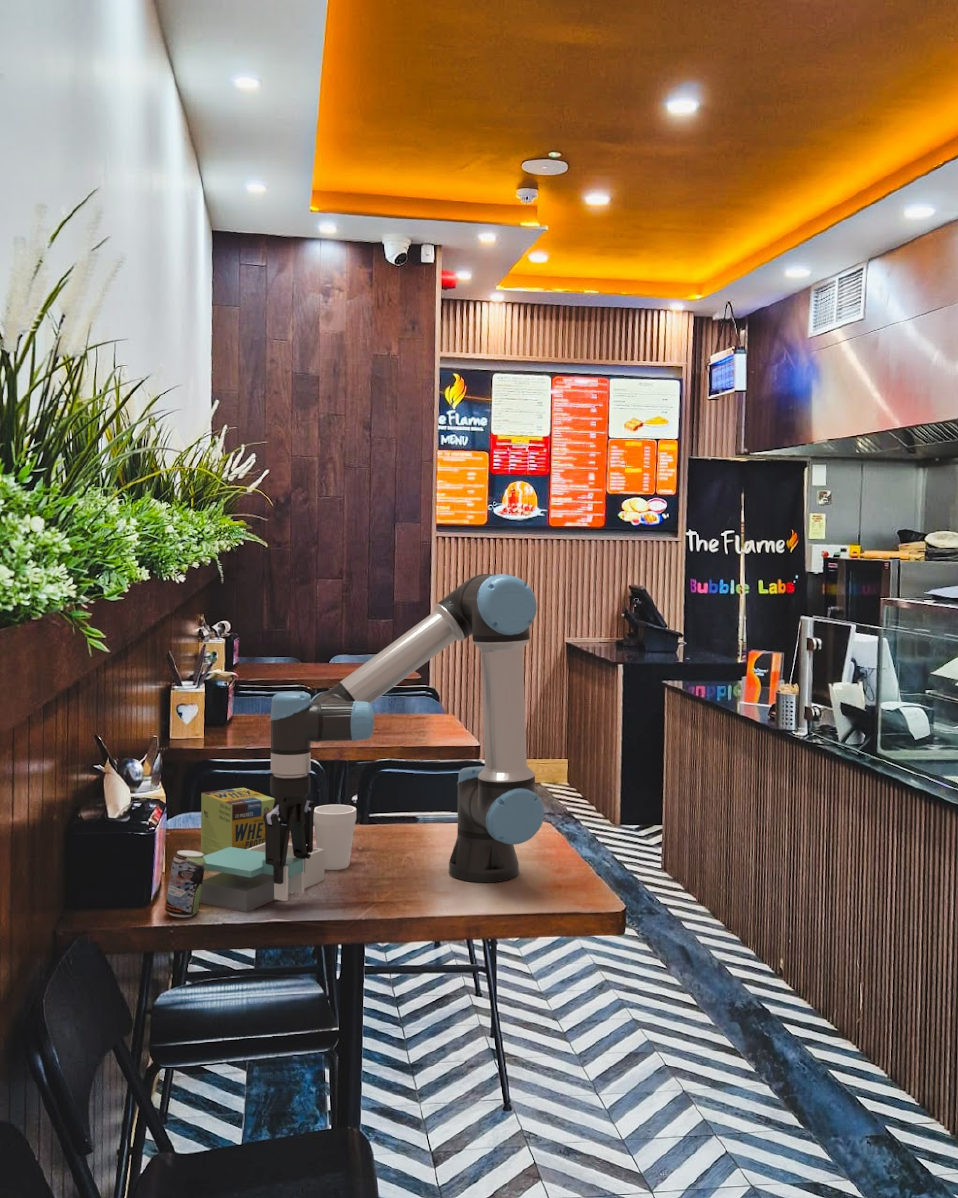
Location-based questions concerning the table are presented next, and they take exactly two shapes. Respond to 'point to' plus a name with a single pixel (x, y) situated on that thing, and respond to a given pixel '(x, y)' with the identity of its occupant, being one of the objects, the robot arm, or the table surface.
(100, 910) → the table surface
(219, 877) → the block
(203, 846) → the protein box
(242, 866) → the lid
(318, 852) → the tub
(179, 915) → the beverage can
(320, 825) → the foam cup
